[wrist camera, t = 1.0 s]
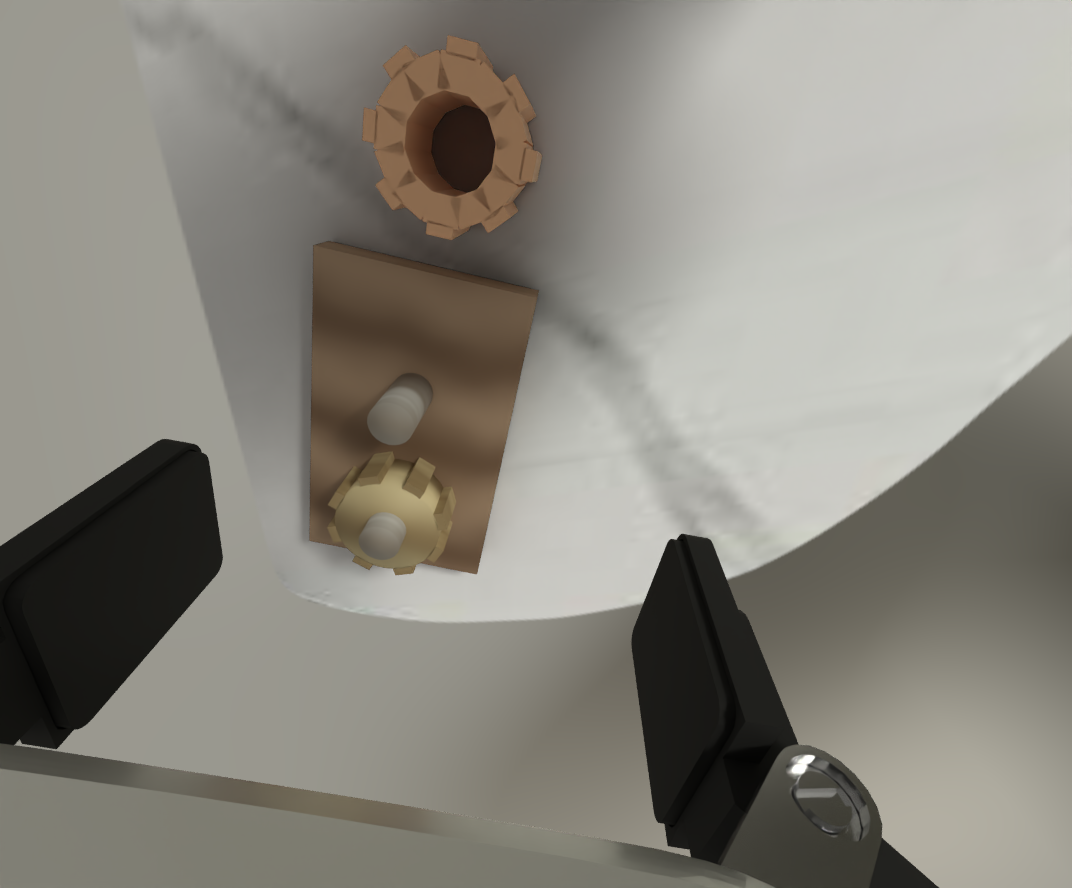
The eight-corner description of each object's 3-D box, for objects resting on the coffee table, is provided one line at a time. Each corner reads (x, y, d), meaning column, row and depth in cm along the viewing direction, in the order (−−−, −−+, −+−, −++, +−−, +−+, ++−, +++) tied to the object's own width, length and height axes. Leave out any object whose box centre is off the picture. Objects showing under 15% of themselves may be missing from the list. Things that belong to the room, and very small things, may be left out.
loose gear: (404, 43, 24) (368, 13, 20) (556, 83, 25) (554, 63, 20) (391, 210, 28) (358, 217, 23) (525, 243, 28) (517, 256, 24)
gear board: (328, 241, 28) (269, 257, 23) (538, 290, 29) (532, 318, 23) (321, 523, 38) (277, 586, 32) (480, 556, 38) (466, 622, 33)
